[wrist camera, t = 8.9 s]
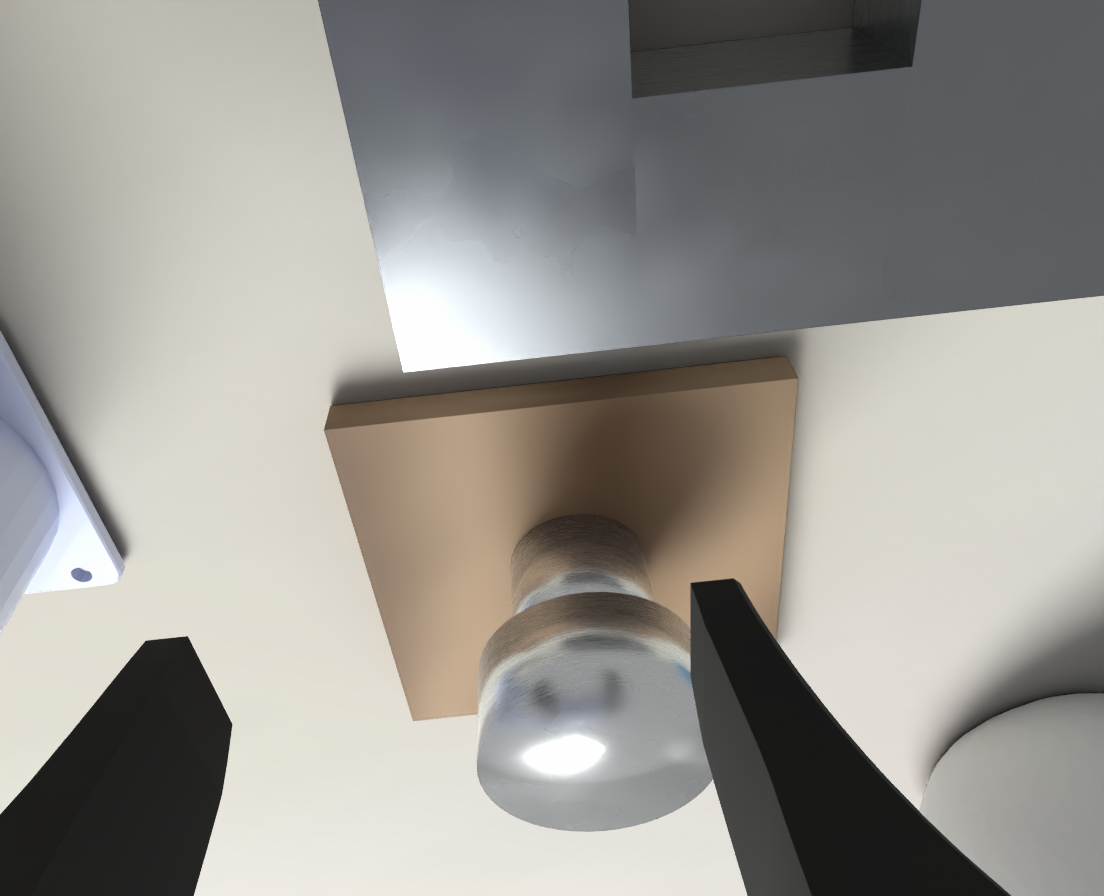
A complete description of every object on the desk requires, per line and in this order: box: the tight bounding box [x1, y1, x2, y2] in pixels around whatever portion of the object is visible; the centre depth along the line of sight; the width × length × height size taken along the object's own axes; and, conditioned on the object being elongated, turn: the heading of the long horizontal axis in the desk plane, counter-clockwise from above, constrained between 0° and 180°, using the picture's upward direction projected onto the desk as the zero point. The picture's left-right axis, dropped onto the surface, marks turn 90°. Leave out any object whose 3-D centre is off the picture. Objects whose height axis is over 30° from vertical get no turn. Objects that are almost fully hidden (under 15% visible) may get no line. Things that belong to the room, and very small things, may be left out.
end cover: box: [477, 514, 713, 832], centre depth 21 cm, size 5×5×6 cm
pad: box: [324, 356, 798, 721], centre depth 24 cm, size 11×11×1 cm
